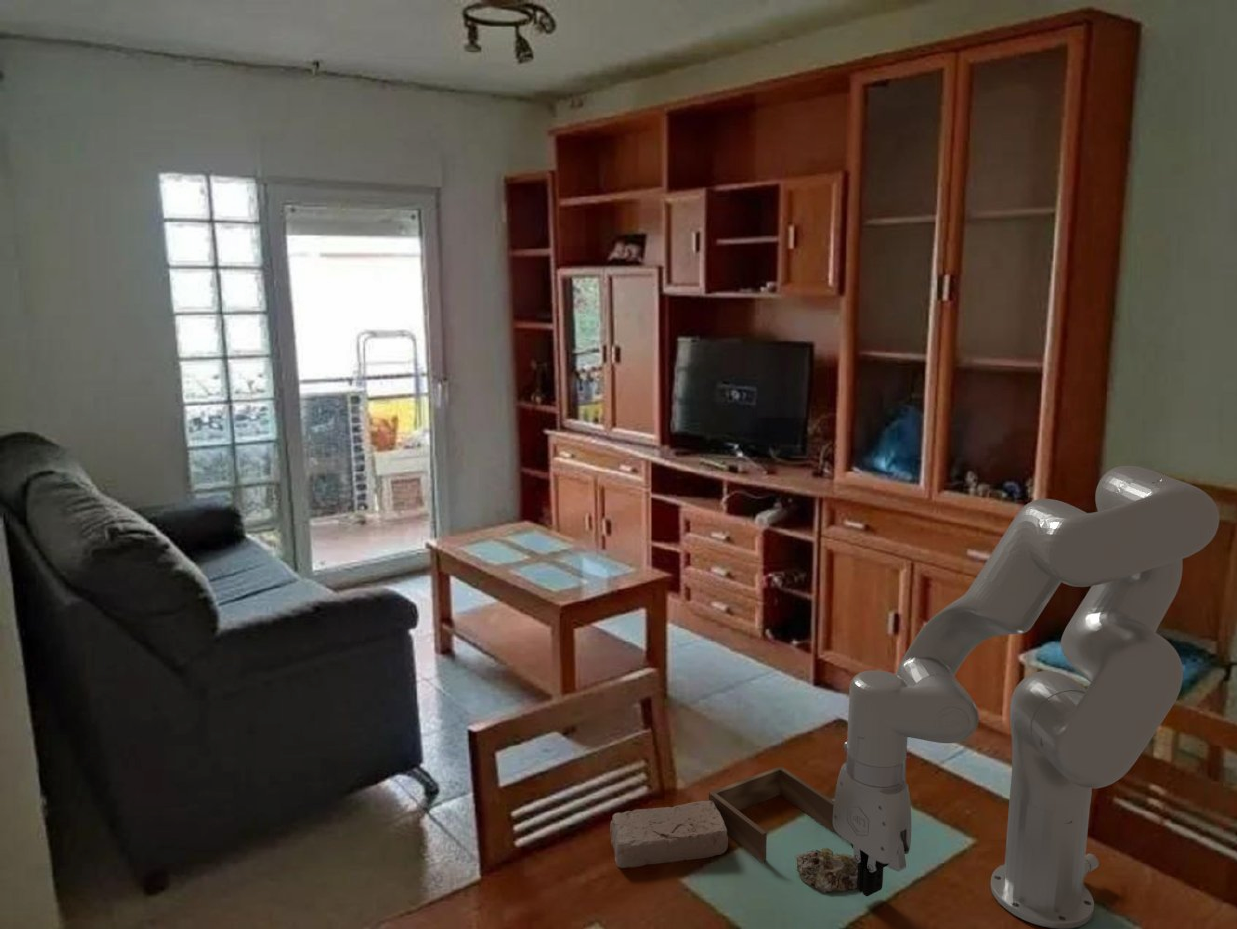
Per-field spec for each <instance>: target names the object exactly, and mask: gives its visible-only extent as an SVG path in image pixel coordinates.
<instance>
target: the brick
mask: <svg viewBox="0 0 1237 929" xmlns="http://www.w3.org/2000/svg"><path fill="white" fill-rule="evenodd" d="M609 826H610V827H609V830H610V831H609V832H610V844H611V845H612V847H613V848H612V849H613V852H614V861H615V865H616V866H617V867H618V868H620V869H625V868H636V867H642V866H645V865H659V864H665V863H675V862H682V861H684V860H686V861H691V860H696V859H697V860H698V859H700V860H701V859H706V858H711V857H714V856H719V855H722V854H723V855H724V853H725V852H726V851H727V849H728V846H729V835H728V834H727V828H726V826H725V823H724V821H723V819H722V816H721V814H720V812H719V811H718V810H717V808H716V806H715V805H714V803H713V801H709V800H700V801H699V800H698V801H693V802H687V803H683V804H678V805H674V806H673V807H672V806H671V807H670V806H667V807H656V808H655V807H654V808H642V809H640V808H639V809H634V810H632V811H631V810H627V811H624V812H615V813H614V814H613V815H612V820H611V821H610V825H609Z"/></svg>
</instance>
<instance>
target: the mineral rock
mask: <svg viewBox="0 0 1237 929" xmlns="http://www.w3.org/2000/svg"><path fill="white" fill-rule="evenodd" d="M795 859H796V872H798V874H799V876H800V879H801V881H802V883H805V884H808V886H810V887H812V888H815V889H817V890H818V891H820V892H822V893H826V892H833V891H834V892H844V891H850V890H854V889H857V873H858V863H857V862H856V861H855V859H854V855H853V856H852V855H849V854H847V853H836V854H834V852H833V850H832V849H829V848H828V847H823V848H822V849H821V850H819V849H815V850H811V851H806V853H801V854H796V855H795Z"/></svg>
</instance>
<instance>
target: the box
mask: <svg viewBox="0 0 1237 929" xmlns="http://www.w3.org/2000/svg"><path fill="white" fill-rule="evenodd" d="M777 796H781V797H782V798H784V799H785V800H786V801H788V802H790V804H792V805H794V806H795V807H797V808H798V809H800V810H801V811H802V812H804V813H805V814H806V815H807V816H809V817H811V818H812V819H814V820H815V821H817V822H818V823H820V824H821V825H822V826H824V827H825V828H826V829H828V830H830V831H831V832H834V831H835V829H834V827H833V807H834V799H831V798H830V797H828V796H827V795H825V794H824V793H822V792H821V791H819V790H818V789H817V788H815V787H813V786H812V785H811V784H809V783H808V782H806V781H804V780H803V779H802V778H799V777H798V776H797V775H795V774H793V773H792V772H790V771H789V770H787V769H786V768H785V767H783V766H781V765H780V766H778V767H775V768H771V769H769V770H767V771H766V770H765V771H764V772H761V773H758V774H755V775H753V776H750V777H747V778H745V779H742V780H740V781H739V780H738V781H737V782H734V783H731V784H729V785H725V786H723V787H721V788H717V789H715V790H712V791H710V792H708V801H713V803H714V805H715V806H716V808H717V810H718V811H719V812H720V814H721V816H722V819H723V821H724V823H725V826H726V828H727V836H728V837H730V838H731V839H733V841H735V842H737V843H738V844H739V845H741V847H742V848H744V849H745V850H746V851H748V852H749V853H750V854H751V855H752V856H754V857H755V858H756V859H758V860H759V861H760V862H761V863H764V862H766V861H767V837H768V836H767V834H768V832H767V831H766V830H764V829H763V828H762V827H760V826H759V825H758V824H757V823H755V822H754V821H752V820H751V819H750V818H748V817H747V816H746V815H745V814H743V813H742V812H741V811H742V810H744V809H748V808H750V807H752V806H754V805H758V804H759V803H763V802H765V801H767V800H770V799H773V798H776V797H777ZM835 832H836V831H835Z"/></svg>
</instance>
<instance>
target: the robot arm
mask: <svg viewBox="0 0 1237 929" xmlns="http://www.w3.org/2000/svg"><path fill="white" fill-rule="evenodd" d="M1094 496H1095V499H1094V500H1095V506H1096V509H1097V511H1095V512H1086V511H1084V510H1082V509H1080V508H1078V507H1076V506H1073V505H1071V504H1070V503H1067V502H1064V501H1061V500H1056V499H1051V498H1039V499H1034V500H1033V501H1030V502H1028V503H1027V504H1025V505H1024V506H1023V507H1022V508H1020V510H1019V512H1018V513H1017V514H1016V515H1015V517H1013V518H1014V519H1013V520H1012V521H1011V523H1010V524H1009V526H1008V527H1007V529H1006V531H1005V532H1004V533H1003V535H1002V537H1001V538H1000V540H999V542H998V543H997V545H996V546H995V548H994V550H992V553H991V554H990V556H989V557H988V559H987V561H986V562H985V564H984V565H983V567H982V568H981V570H980V572H979V573H978V575H977V576H976V578H975V579H974V581H973V582H972V584H971V585H970V587H969V588H968V590H967V591H966V592H965V593H964V594H962V596H960V597H959V598H957V599H956V600H954V601H953V602H951V603H950V604H949V605H946V607H944V608H943V609H942V610H940V611H939V612H937V613H936V614H935V615H934V616H932V618H930V619H929V620H928V621H927V622H926V623H925V624H924V625H923V627H922V628H921V629H920V631H919V632H918V633H917V635H916V636H915V638H914V639H913V641H912V642H911V644H910V646H909V647H908V648H907V651H906V652H905V653H904V656H903V658H902V659H901V661H900V663H899V665H898V668H897V671H896V674H895V673H892V672H889V671H886V670H885V671H884V670H872V669H871V670H866V671H861V672H859V673H857V674H856V675H854V676H853V678H852V680H851V681H850V683H849V693H848V694H849V695H848V715H847V716H848V718H847V734H846V735H847V736H846V737H847V739H846V741H845V742H844V744H843V748H842V749H843V750H844V751H845V752H846V760H845V761H846V762H845V763H843V764H842V765H841V768H840V769H839V770H840V771H839V774H838V778H837V781H836V782H837V783H836V786H835V790H834V792H835V793H834V799H833V801H834V807H833V827H834V829H835V832H836V833H837V834H838V835H839V836H841V837H842V838H843V839H844V840H846V841H847V842H849V843H850V846H851V848H852V850H853V856H854V859H855V861H856V862H857V863H858V873H857V888H856V890H857V891H858V892H860V893H862V894H863V895H864V896H865V897H870V896H872V895H873V894H875V893H878V892H879V891H881V890H882V888H883V880H884V868H885V867H888V869H891V870H893V871H895V872H901V871H902V870H905V869H906V868H907V861H906V855H908V854H909V853H910V849H911V842H912V829H913V828H912V807H911V797H910V790H909V784H908V783H907V781H906V772H907V770H906V769H907V768H906V766H907V753H908V738H911V739H918V740H923V741H927V742H930V743H931V742H932V743H939V744H956V743H960V742H963V741H965V740H967V739H969V738H970V737H971V736H972V735H973V734H974V733H975V732H976V730H977V728H978V725H979V720H980V719H979V718H980V717H979V712H978V711H979V710H978V708H977V705H976V703H975V702H974V700H973V699H972V697H971V696H970V694H969V693H968V692H967V691H966V689H965V688H963V686H962V685H961V684H960V682H959V681H958V679H956V677H955V675H956V674H957V672H958V670H959V669H960V667H961V666H962V664H963V663H964V661H965V660H966V658H967V657H968V656H969V654H970V653H972V652H973V650H974V649H975V648H976V647H977V646H978V645H980V644H981V643H983V642H984V641H986V640H988V639H991V638H994V637H998V636H999V637H1001V636H1008V635H1010V636H1011V635H1022V634H1026V633H1027V632H1028V631H1030V630H1031V629H1032V627H1034V624H1035V622H1036V621H1037V620H1038V619H1039V616H1040V615H1041V613H1042V612H1043V611H1044V609H1045V607H1046V606H1047V604H1048V603H1049V601H1050V600H1051V598H1052V597H1053V595H1054V594H1055V592H1056V591H1057V590H1058V587H1059V586H1060V585H1061V584H1065V585H1067V586H1071V587H1078V588H1086V587H1090V588H1089V590H1088V591H1087V593H1086V595H1085V597H1084V598H1083V599H1082V601H1081V602H1080V604H1079V606H1078V607H1077V609H1076V610H1075V612H1074V613H1073V616H1072V617H1071V618H1070V621H1069V622H1068V623H1067V625H1066V627H1065V629H1064V631H1063V633H1062V636H1061V639H1060V648H1061V652H1062V654H1063V656H1064V658H1065V660H1066V661H1067V663H1069V664H1070V665H1071V666H1072V668H1074V669H1075V670H1076V671H1077V672H1078V673H1079V675H1081V676H1082V677H1083V678H1084V679H1086V680H1087V681H1088V682H1089V684H1088V687H1087V689H1086V688H1085V687H1084V686H1083V685H1081V683H1079V682H1078V681H1076V680H1075V679H1073V678H1072V677H1069V676H1068V675H1066V674H1063V673H1060V672H1057V671H1052V670H1043V671H1036V672H1033V673H1031V674H1029V675H1027V676H1026V677H1025V678H1023V679H1021V681H1020V682H1019V683H1018V685H1017V686H1016V687H1015V689H1014V691H1013V693H1012V695H1011V699H1010V706H1009V707H1010V708H1009V721H1010V722H1009V723H1010V724H1009V725H1010V733H1011V745H1012V746H1011V748H1012V752H1011V753H1012V757H1011V758H1012V761H1011V762H1012V764H1011V776H1010V777H1011V779H1010V780H1011V781H1010V789H1009V790H1010V791H1009V801H1008V804H1009V805H1008V815H1007V816H1008V817H1007V828H1006V829H1007V830H1006V844H1005V855H1004V856H1005V857H1004V864H1002V865H999V866H998V867H996V868H995V870H994V871H993V872H992V874H991V877H990V890H991V893H992V895H993V897H994V898H995V899H996V900H997V902H998V904H999V905H1001V906H1002V907H1003V908H1004V909H1005V910H1006V911H1008V912H1009V913H1011V914H1012V915H1014V916H1015V917H1016V918H1019V919H1021V920H1023V921H1025V922H1028V923H1030V924H1032V925H1033V924H1034V925H1037V926H1040V927H1044V928H1045V927H1046V928H1049V929H1075V928H1079V927H1081V926H1083V925H1085V924H1087V923H1088V922H1089V921H1090V920H1091V919H1092V917H1093V915H1094V909H1095V900H1094V899H1093V895H1092V894H1091V892H1090V891H1089V889H1088V888H1087V887H1086V885H1084V881H1085V878H1086V877H1087V874H1088V873H1089V872H1092V871H1093V870H1096V869H1097V868H1098V867H1099V864H1100V863H1099V860H1098V858H1097V857H1096V856H1095V855H1094V854H1093V853H1087V854H1086V851H1087V843H1088V842H1087V839H1088V833H1089V832H1088V830H1089V820H1090V819H1089V818H1090V811H1091V810H1090V808H1091V802H1092V793H1093V792H1092V791H1093V790H1092V789H1100V788H1105V787H1108V786H1110V785H1112V784H1114V783H1115V782H1117V781H1119V780H1120V779H1121V778H1123V777H1124V776H1125V775H1126V774H1127V773H1128V772H1129V771H1130V769H1131V768H1132V767H1133V766H1134V764H1135V763H1136V762H1137V760H1138V758H1139V757H1140V756H1141V755H1142V753H1143V751H1144V750H1145V748H1146V747H1147V746H1148V744H1149V742H1150V741H1151V740H1152V738H1153V736H1154V735H1155V733H1156V732H1157V730H1158V729H1159V727H1160V726H1161V725H1162V723H1163V721H1164V719H1165V718H1166V717H1167V715H1168V714H1169V712H1170V710H1172V707H1173V706H1174V705H1175V702H1176V700H1177V699H1178V697H1179V694H1180V692H1181V689H1182V684H1183V678H1184V677H1183V676H1184V669H1183V668H1184V667H1183V662H1182V660H1181V657H1180V656H1179V653H1178V652H1177V650H1176V648H1175V647H1174V646H1173V645H1172V644H1171V643H1170V642H1169V641H1168V640H1167V639H1166V638H1164V637H1163V636H1161V635H1160V634H1158V633H1157V630H1158V628H1159V625H1160V624H1161V622H1162V620H1163V619H1164V617H1165V615H1166V614H1167V611H1168V610H1169V608H1170V606H1171V604H1172V602H1173V600H1174V599H1175V597H1176V595H1177V593H1178V591H1179V588H1180V585H1181V581H1182V576H1183V567H1184V566H1183V563H1184V562H1183V559H1185V558H1189V557H1191V556H1192V555H1194V554H1196V553H1198V552H1200V551H1201V550H1203V549H1204V548H1205V547H1207V545H1208V544H1210V542H1211V541H1212V540H1213V539H1214V537H1215V536H1216V534H1217V532H1218V529H1219V526H1220V512H1219V510H1218V506H1217V505H1216V503H1215V501H1214V500H1213V498H1212V497H1211V496H1210V495H1209V494H1207V492H1205V491H1204V490H1202V489H1201V488H1199V487H1197V486H1195V485H1192V484H1190V483H1188V482H1185V481H1182V480H1179V479H1176V478H1174V477H1171V476H1168V475H1166V474H1164V473H1162V472H1158V471H1155V470H1152V469H1149V468H1146V467H1142V466H1136V465H1122V466H1120V465H1119V466H1117V467H1116V466H1115V467H1114V468H1112V469H1110V470H1108V471H1107V472H1106V473H1105V474H1103V476H1101V478H1100V480H1099V482H1098V484H1097V486H1096V489H1095V495H1094Z"/></svg>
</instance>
